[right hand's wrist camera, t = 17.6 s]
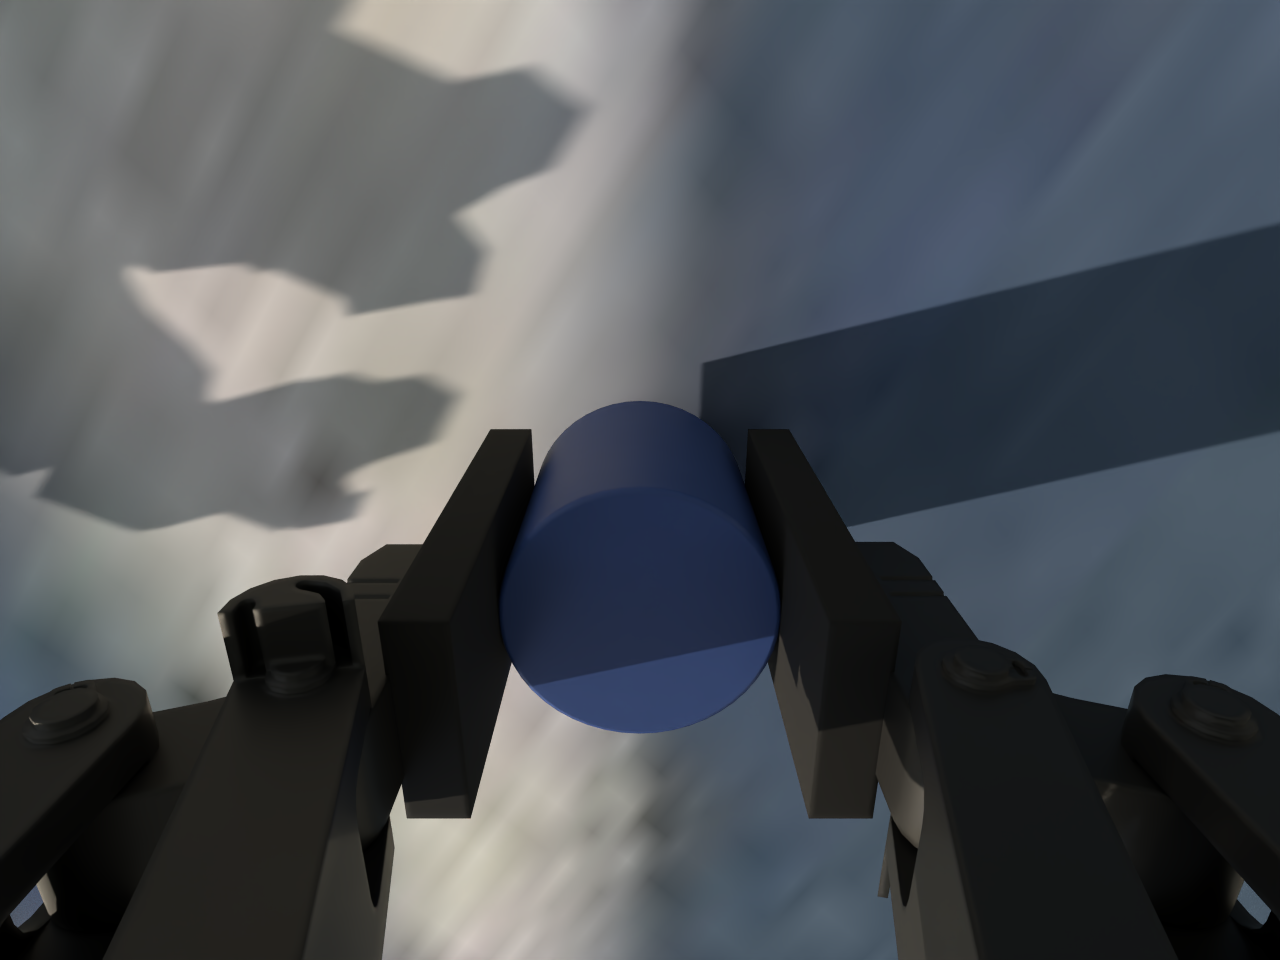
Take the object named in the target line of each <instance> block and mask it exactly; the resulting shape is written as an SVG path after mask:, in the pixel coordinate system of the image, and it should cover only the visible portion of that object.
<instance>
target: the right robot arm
mask: <svg viewBox="0 0 1280 960" xmlns="http://www.w3.org/2000/svg"><path fill="white" fill-rule="evenodd" d="M745 487H746V490H747V493H748V496H749V499H750V502H751V505H752V508H753V510H754V513H755V516H756V519H757V522H758V525H759V528H760V531H761V533H762V536H763V539H764V542H765V545H766V548H767V551H768V554H769V556H770V559H771V562H772V565H773V568H774V571H775V574H776V578H777V581H778V584H779V589H780V596H781V619H780V627H779V634H778V637H777V640H776V644H775V647H774V650H773V652H772V654H771V656H770V658H769V660H768V665H769V669H770V672H771V676H772V680H773V684H774V688H775V691H776V695H777V699H778V703H779V707H780V710H781V714H782V718H783V722H784V726H785V729H786V733H787V737H788V741H789V745H790V749H791V752H792V756H793V760H794V764H795V768H796V771H797V775H798V779H799V783H800V787H801V790H802V794H803V798H804V802H805V806H806V809H807V813H808V817H809V818H873V812H874V805H875V798H876V792H877V785H878V782H879V784H880V787H881V789H882V792H883V794H884V797H885V799H886V802H887V804H888V807H889V810H890V812H891V815H890V822H889V828H888V834H887V840H886V846H885V853H884V859H883V865H882V871H881V878H880V884H879V891H878V896H879V897H884V898H888V894H889V889H890V890H891V899H892V908H893V916H894V925H895V934H896V943H897V951H898V960H1280V716H1279V715H1278V714H1277V713H1275V712H1274V711H1272V710H1270V709H1269V708H1267V707H1266V706H1264V705H1263V704H1261V703H1260V702H1258V701H1257V700H1255V699H1253V698H1252V697H1250V696H1247V695H1245V694H1243V693H1240V692H1238V691H1236V690H1233V689H1231V688H1230V687H1228V686H1227V685H1224V684H1221V683H1218V682H1215V681H1212V680H1210V681H1207V680H1206V679H1204V678H1199V677H1193V676H1179V675H1168V674H1164V675H1159V676H1153V677H1147V678H1145V679H1143V680H1142V681H1141V682H1140V683H1138V684H1137V685H1136V686H1135V687H1134V690H1133V693H1132V696H1131V700H1130V703H1129V707H1128V709H1125V708H1120V707H1115V706H1110V705H1104V704H1099V703H1094V702H1089V701H1084V700H1079V699H1074V698H1070V697H1066V696H1062V695H1058V694H1054V693H1052V691H1051V689H1050V687H1049V684H1048V682H1047V680H1046V679H1045V678H1044V676H1043V675H1042V674H1041V673H1040V671H1039V670H1038V669H1037V668H1036V666H1035V665H1033V664H1032V663H1031V662H1029V661H1028V660H1026V659H1025V658H1023V657H1022V656H1020V655H1019V654H1017V653H1016V652H1013V651H1011V650H1008V649H1006V648H1003V647H1001V646H998V645H996V644H993V643H989V642H985V641H980V640H978V639H977V637H976V636H975V634H974V633H973V632H972V630H971V629H970V628H969V626H968V625H967V623H966V622H965V621H964V619H963V618H962V617H961V615H960V614H959V613H958V611H957V610H956V608H955V607H954V606H953V604H952V603H951V602H950V600H949V599H948V597H947V596H944V592H943V591H942V589H941V588H940V586H939V585H938V584H937V582H936V581H935V580H932V576H931V574H930V573H929V571H928V570H927V569H926V567H925V566H924V565H923V563H922V562H921V560H920V559H919V558H918V557H916V556H915V555H913V554H912V553H910V552H908V551H907V550H905V549H904V548H902V547H900V546H899V545H897V544H896V543H894V542H855V541H854V539H853V538H852V536H851V534H850V532H849V531H848V529H847V527H846V526H845V524H844V522H843V521H842V519H841V517H840V515H839V514H838V512H837V510H836V509H835V507H834V505H833V504H832V502H831V500H830V498H829V497H828V495H827V493H826V492H825V490H824V488H823V487H822V485H821V483H820V481H819V480H818V478H817V476H816V475H815V473H814V471H813V470H812V468H811V466H810V464H809V463H808V461H807V459H806V458H805V456H804V454H803V453H802V451H801V449H800V447H799V446H798V444H797V442H796V441H795V439H794V437H793V436H792V434H791V432H790V430H789V429H748V440H747V458H746V476H745ZM533 489H534V468H533V450H532V433H531V429H491V430H490V431H489V433H488V435H487V436H486V438H485V440H484V441H483V443H482V445H481V447H480V448H479V450H478V452H477V453H476V455H475V457H474V458H473V460H472V462H471V463H470V465H469V467H468V469H467V470H466V472H465V474H464V475H463V477H462V479H461V480H460V482H459V484H458V486H457V487H456V489H455V491H454V492H453V494H452V496H451V497H450V499H449V501H448V503H447V504H446V506H445V508H444V509H443V511H442V513H441V514H440V516H439V518H438V520H437V521H436V523H435V525H434V526H433V528H432V530H431V531H430V533H429V535H428V537H427V538H426V540H425V542H424V543H423V544H386V545H385V546H383V547H382V548H380V549H379V550H377V551H375V552H374V553H372V554H371V555H369V556H367V557H366V558H364V559H363V560H361V561H360V563H359V564H358V566H357V567H356V568H355V570H354V571H353V572H352V574H351V575H350V577H349V578H348V582H347V583H346V582H344V581H343V580H341V579H337V578H332V577H328V576H324V575H305V576H295V577H289V578H283V579H278V580H273V581H270V582H268V583H265V584H262V585H259V586H256V587H253V588H250V589H248V590H247V591H245V592H243V593H241V594H240V595H238V596H236V597H234V598H233V599H231V600H230V601H229V602H228V603H227V604H226V605H225V606H224V607H223V608H222V609H221V610H220V611H219V612H218V617H219V621H220V626H221V630H222V634H223V638H224V642H225V646H226V651H227V655H228V659H229V663H230V667H231V671H232V676H233V680H234V681H233V684H232V686H231V688H230V690H229V692H228V694H227V696H226V697H223V698H219V699H215V700H212V701H208V702H203V703H198V704H193V705H187V706H182V707H177V708H172V709H167V710H162V711H157V712H152V709H151V706H150V702H149V699H148V696H147V692H146V690H145V689H144V688H143V687H141V686H140V685H139V684H138V683H136V682H135V681H130V680H125V679H119V678H107V679H96V680H85V681H80V682H75V683H74V684H72V685H71V684H67V685H64V686H61V687H58V688H55V689H53V690H52V691H50V692H48V693H46V694H44V695H42V696H39V697H37V698H35V699H32V700H30V701H28V702H27V703H25V704H24V705H22V706H20V707H19V708H17V709H16V710H14V711H13V712H11V713H10V714H8V715H7V716H5V717H4V718H2V719H1V720H0V960H382V953H383V944H384V936H385V927H386V918H387V909H388V901H389V892H390V883H391V874H392V866H393V857H394V841H393V834H392V828H391V822H390V812H391V810H392V807H393V804H394V802H395V799H396V797H397V794H398V792H399V789H400V787H401V784H402V789H403V795H404V802H405V809H406V815H407V818H471V815H472V811H473V807H474V803H475V800H476V796H477V792H478V788H479V784H480V781H481V777H482V773H483V769H484V765H485V762H486V758H487V754H488V750H489V746H490V743H491V739H492V735H493V731H494V727H495V724H496V720H497V716H498V712H499V708H500V705H501V701H502V697H503V693H504V689H505V686H506V682H507V678H508V674H509V670H510V667H511V663H512V661H511V659H510V657H509V655H508V653H507V650H506V648H505V645H504V642H503V639H502V635H501V632H500V624H499V610H498V599H499V593H500V586H501V582H502V579H503V576H504V573H505V570H506V567H507V564H508V561H509V558H510V555H511V552H512V549H513V547H514V544H515V541H516V538H517V535H518V532H519V529H520V526H521V524H522V521H523V518H524V515H525V512H526V509H527V506H528V504H529V501H530V498H531V495H532V492H533ZM1244 880H1245V882H1246V883H1247V884H1248V885H1249V886H1250V887H1251V888H1252V889H1253V890H1254V892H1255V893H1256V894H1257V895H1258V896H1259V897H1260V898H1261V899H1262V900H1263V902H1264V903H1265V904H1266V905H1267V906H1268V907H1269V908H1270V909H1271V912H1270V914H1269V917H1268V919H1267V921H1266V922H1265V924H1264V925H1262V924H1260V923H1259V922H1258V921H1257V920H1256V919H1255V918H1254V917H1253V916H1252V915H1250V914H1249V913H1248V911H1247V910H1246V909H1245V908H1244V907H1243V906H1242V904H1241V903H1240V902H1239V901H1238V900H1237V897H1238V895H1239V892H1240V890H1241V887H1242V885H1243V882H1244ZM36 884H37V887H38V889H39V892H40V894H41V897H42V899H43V904H42V905H41V906H40V907H39V908H38V909H37V911H36V912H35V913H34V914H33V915H32V916H31V917H30V918H29V919H28V920H27V921H25V922H24V923H23V924H22V925H21V926H19V927H18V928H17V927H16V926H15V925H14V923H13V921H12V919H11V916H10V913H11V912H12V911H13V910H14V909H15V908H16V907H17V906H18V904H19V903H20V902H21V901H22V900H23V899H24V898H25V897H26V895H27V894H28V893H29V892H30V891H31V890H32V889H33V888H34V887H35V885H36Z"/></svg>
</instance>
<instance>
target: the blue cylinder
mask: <svg viewBox="0 0 1280 960" xmlns="http://www.w3.org/2000/svg"><path fill="white" fill-rule="evenodd" d="M498 610H499V624H500V632H501V635H502V639H503V642H504V645H505V648H506V650H507V653H508V655H509V657H510V659H511V661H512V663H513V665H514V667H515V668H516V670H517V671H518V673H519V674H520V676H521V677H522V679H523V680H524V681H525V682H526V683H527V685H528V686H529V687H530V688H531V689H532V690H533V691H534V692H535V693H536V694H537V695H538V696H539V697H540V698H541V699H543V700H544V701H545V702H546V703H548V704H549V705H551V706H552V707H553V708H555V709H556V710H558V711H560V712H561V713H563V714H565V715H567V716H569V717H571V718H572V719H575V720H577V721H580V722H582V723H585V724H587V725H590V726H594V727H597V728H601V729H605V730H610V731H616V732H624V733H656V732H663V731H669V730H675V729H678V728H682V727H686V726H690V725H692V724H695V723H697V722H700V721H702V720H705V719H707V718H709V717H711V716H713V715H715V714H716V713H718V712H720V711H722V710H723V709H725V708H726V707H727V706H729V705H730V704H732V703H733V702H735V701H736V700H737V699H738V698H739V697H740V696H741V695H742V694H744V693H745V692H746V691H747V690H748V689H749V687H750V686H751V685H752V684H753V683H754V682H755V681H756V679H757V678H758V677H759V675H760V674H761V672H762V671H763V669H764V668H765V666H766V664H767V662H768V660H769V658H770V656H771V654H772V652H773V650H774V647H775V644H776V640H777V637H778V634H779V627H780V619H781V596H780V589H779V584H778V581H777V578H776V574H775V571H774V568H773V565H772V562H771V559H770V556H769V554H768V551H767V548H766V545H765V542H764V539H763V536H762V533H761V531H760V528H759V525H758V522H757V519H756V516H755V513H754V510H753V508H752V505H751V502H750V499H749V496H748V493H747V490H746V487H745V485H744V482H743V479H742V476H741V473H740V470H739V467H738V465H737V462H736V460H735V458H734V456H733V454H732V452H731V451H730V449H729V447H728V446H727V444H726V443H725V442H724V440H723V439H722V438H721V437H720V436H719V435H718V433H717V432H716V431H714V430H713V429H712V428H711V427H710V426H709V425H708V424H707V423H705V422H704V421H702V420H701V419H699V418H698V417H696V416H695V415H693V414H691V413H688V412H686V411H684V410H682V409H679V408H677V407H674V406H671V405H667V404H662V403H657V402H647V401H633V402H623V403H618V404H612V405H609V406H606V407H603V408H600V409H597V410H595V411H593V412H591V413H589V414H587V415H585V416H584V417H582V418H581V419H579V420H577V421H576V422H574V423H573V424H572V425H571V426H570V427H569V428H567V429H566V430H565V431H564V432H563V433H562V434H561V435H560V436H559V438H558V439H557V440H556V441H555V442H554V444H553V445H552V447H551V448H550V450H549V451H548V453H547V455H546V457H545V459H544V461H543V463H542V466H541V469H540V472H539V475H538V478H537V481H536V484H535V486H534V489H533V492H532V495H531V498H530V501H529V504H528V506H527V509H526V512H525V515H524V518H523V521H522V524H521V526H520V529H519V532H518V535H517V538H516V541H515V544H514V547H513V549H512V552H511V555H510V558H509V561H508V564H507V567H506V570H505V573H504V576H503V579H502V582H501V586H500V593H499V599H498Z"/></svg>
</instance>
